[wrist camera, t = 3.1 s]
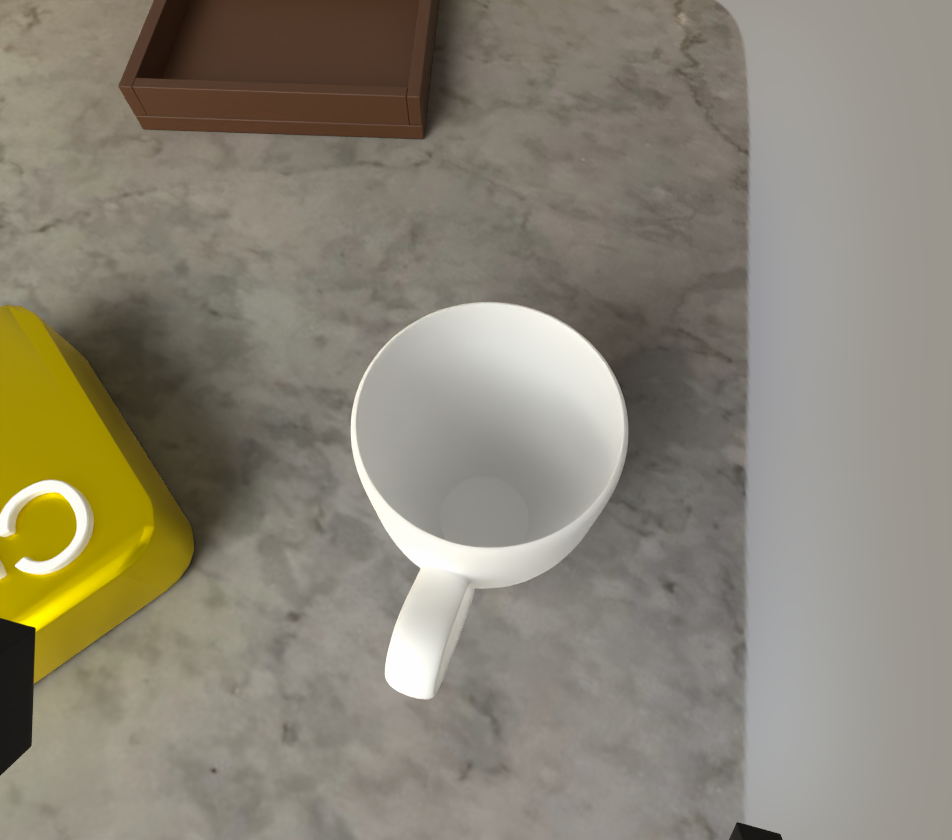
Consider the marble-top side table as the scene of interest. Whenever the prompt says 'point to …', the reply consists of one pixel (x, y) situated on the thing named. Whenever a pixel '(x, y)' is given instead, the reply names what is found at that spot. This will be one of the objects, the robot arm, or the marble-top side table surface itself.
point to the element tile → (75, 499)
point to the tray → (284, 67)
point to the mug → (482, 462)
